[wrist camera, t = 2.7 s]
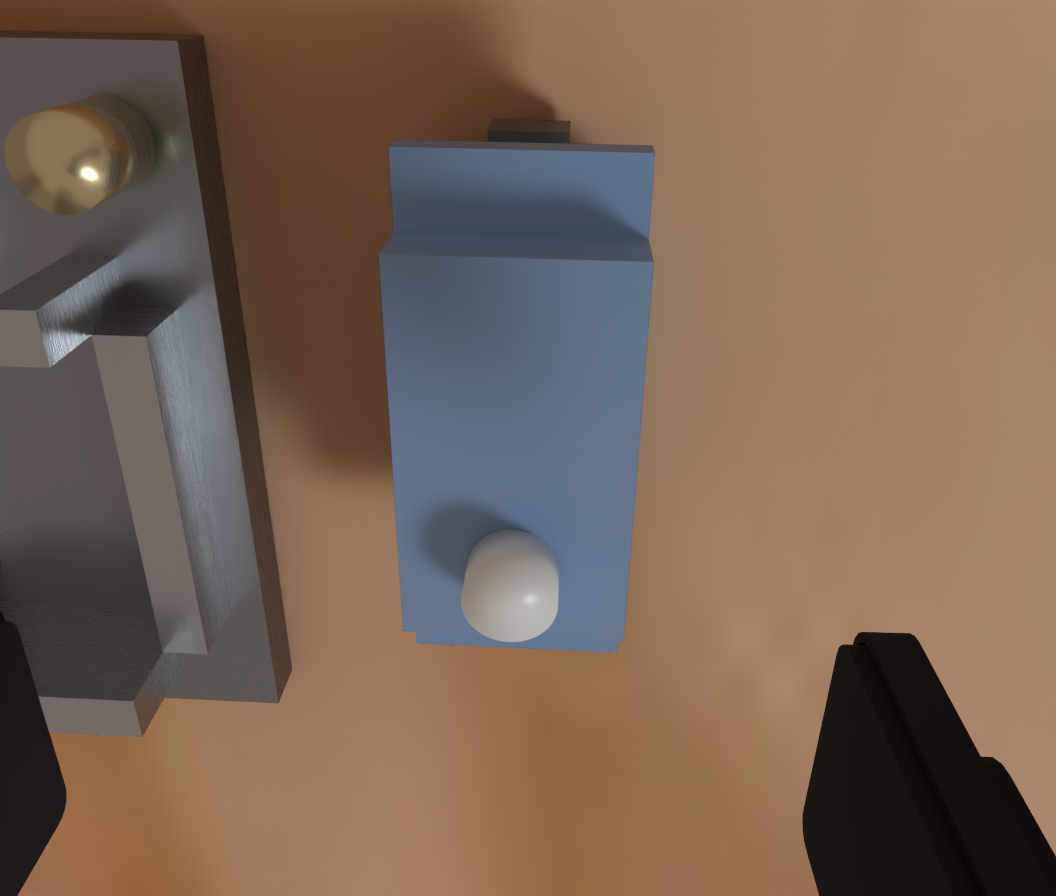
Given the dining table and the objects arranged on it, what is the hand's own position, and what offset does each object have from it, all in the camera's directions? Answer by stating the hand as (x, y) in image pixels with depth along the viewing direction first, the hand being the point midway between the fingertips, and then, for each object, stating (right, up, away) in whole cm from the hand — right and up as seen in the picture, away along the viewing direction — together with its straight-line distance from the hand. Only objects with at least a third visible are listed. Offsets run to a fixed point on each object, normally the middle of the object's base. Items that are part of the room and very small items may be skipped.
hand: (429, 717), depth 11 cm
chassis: (-9, +4, +10) cm, 14 cm away
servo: (+1, +5, +9) cm, 10 cm away
